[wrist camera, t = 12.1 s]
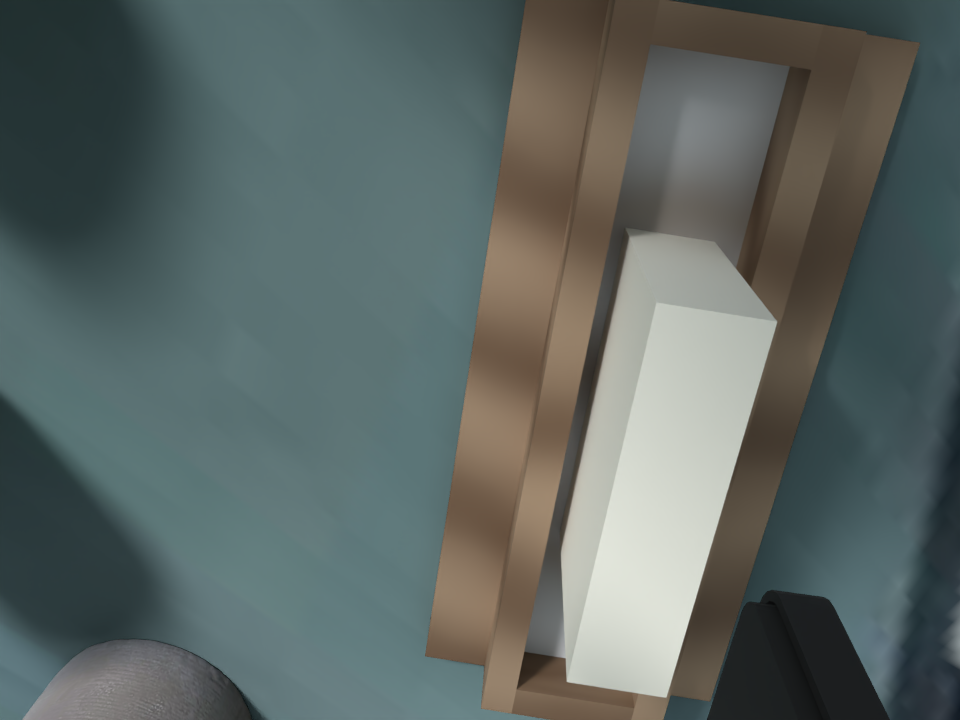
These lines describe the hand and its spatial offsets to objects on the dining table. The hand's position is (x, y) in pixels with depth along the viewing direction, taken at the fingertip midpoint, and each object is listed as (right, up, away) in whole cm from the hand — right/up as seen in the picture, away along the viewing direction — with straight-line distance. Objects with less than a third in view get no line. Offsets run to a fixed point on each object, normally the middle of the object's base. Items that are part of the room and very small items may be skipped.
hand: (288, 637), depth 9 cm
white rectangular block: (+7, +2, +22) cm, 23 cm away
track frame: (+8, +2, +23) cm, 24 cm away
